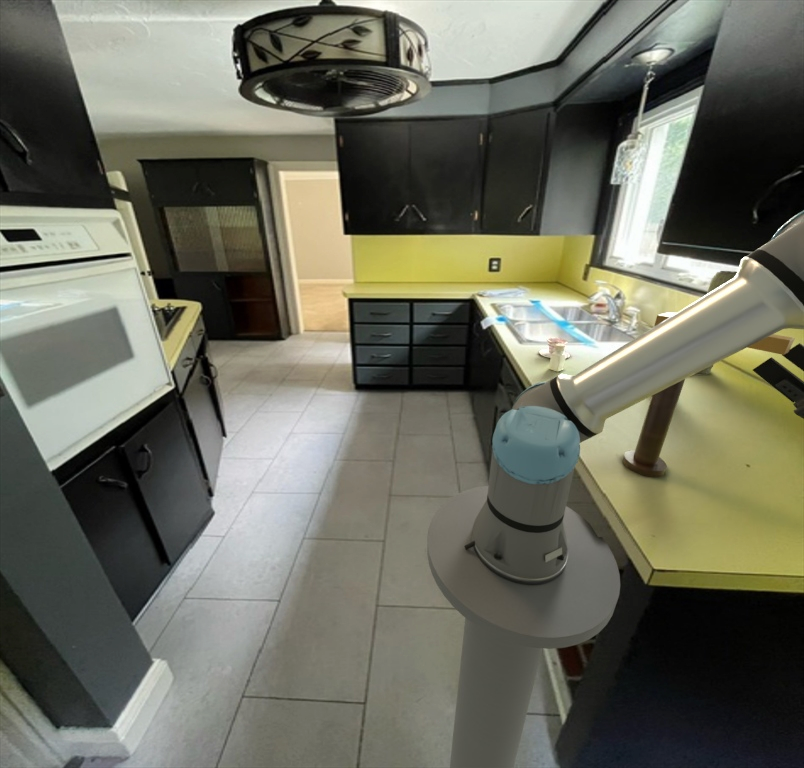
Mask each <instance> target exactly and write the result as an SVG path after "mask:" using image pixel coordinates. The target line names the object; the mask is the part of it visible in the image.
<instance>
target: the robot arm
mask: <svg viewBox="0 0 804 768" xmlns="http://www.w3.org/2000/svg"><path fill="white" fill-rule="evenodd" d="M736 272H737V274H736V276H735V277H734V278H733V279H731V280H730V281H728V282H726V283H725V284H723V285H721V286H720V287H718V288H717V289H715V290H713V291H712V292H710V293H708V294H707V293H706V294H705V295H704V296H702V297H700V298H698V299H697V300H695V301H693V302H692V303H691V304H689V305H687V306H685V307H684V308H683V309H680V310H679V311H678V312H675V313H676V314H674V315H673V316H671V317H669V318H668V319H666V320H664V321H663V322H661V323H660V324H658V325H656V326H655V327H654V326H653V327H651V328H650V329H648V330H647V331H644V332H643V333H642V334H640V335H639V336H637V337H635V338H634V339H632V340H630V341H628V342H627V343H625V344H623V345H622V346H620V347H619V348H617V349H615V350H614V351H612V352H610V353H608V354H607V355H606V356H604V357H603V358H601V359H599V360H598V361H596V362H594V363H593V364H591V365H589V366H587V367H586V368H585V369H583V370H581V371H579V372H578V373H577V374H575V375H570V374H564V373H559V374H558V375H556V376H555V377H553V378H551V379H549V380H548V381H543V382H537V383H535V384H532V385H530V386H529V387H527V388H526V389H524V390H523V391H522V392H521V393H520V394H519V395H518V396H517V397H516V399H515V401H514V402H513V405H512V408H511V409H510V410H507V411H506V412H505V413H503V415H501V417H500V418H499V419H498V421H497V423H496V426H495V429H494V432H493V435H492V444H491V445H492V446H491V448H492V451H491V460H490V468H489V469H490V470H489V477H488V485H487V486H488V495H487V500H486V502H485V503H484V505H483V507H482V508H481V510H480V512H479V514H478V515H477V517H476V519H475V521H474V524H473V528H472V542H471V543H469V544H467V545H465V546H464V547H465V549H466V550H467V549H469V548H471V547H473V548H474V551H475V553H476V555H477V556H478V558H479V559H480V560H481V562H482V563H483V564H484V565H485V566H486V567H487V568H488V569H490V570H491V571H492V572H494V573H495V574H497V575H498V576H500V577H502V578H504V579H506V580H509V581H511V582H515V583H518V584H524V585H541V584H546V583H549V582H551V581H553V580H555V579H556V578H558V577H559V576H560V575H561V574H562V572H563V571H564V569H565V566H566V563H567V558H568V543H567V538H566V533H565V528H564V522H563V517H564V513H565V508H566V506H567V505H568V504H567V503H568V501H569V495H570V492H571V491H570V490H571V486H572V482H573V478H574V473H575V469H576V465H577V463H578V461H579V458H580V455H581V443H583V442H585V441H587V440H589V439H591V438H593V437H595V436H597V435H599V434H601V433H602V432H603V430H604V427H605V422H606V421H607V419H609V418H611V417H613V416H615V415H617V414H619V413H621V412H623V411H625V410H627V409H628V408H630V407H632V406H634V405H637V404H639V403H641V402H642V401H644V400H647V399H648V398H651V397H652V395H654V394H656V393H658V392H660V391H662V390H664V389H666V388H668V387H670V386H672V385H674V384H676V383H678V382H680V381H682V380H684V379H685V380H686V379H688V378H690V377H691V376H693V375H697V374H696V373H698V372H700V371H702V370H703V369H705V368H707V367H709V366H711V365H713V364H714V365H715V364H717V363H719V362H721V361H723V360H725V359H728V358H729V357H732V356H733V355H735V354H737V353H739V352H741V351H743V350H745V349H747V347H749V346H751V345H753V344H755V343H757V342H759V341H761V340H763V339H765V338H767V337H769V336H770V335H772V334H774V335H775V334H777V333H779V332H781V331H782V330H787V329H794V330H804V210H802V211H800V212H798V213H797V214H795V215H794V216H792V217H791V218H790V219H788V220H787V221H786V222H785V223H784V224H783V225H782V226H780V227H779V228H778V229H777V231H776V232H775V233H774V235H773V236H772V237H771V239H770V240H769V241H768V242H765V244H763V245H761V246H760V247H759V248H757V249H755V250H754V251H752V252H751V253H749V254H747V255H746V256H744V257H743V258H741V259H740V262H739V266H738V269H737V271H736ZM781 356H782V357H783V358H785V359H787V361H789V362H790V363H792V364H793V365H794V366H796V368H798V369H800V370H801V371H802V372H804V345H803V344H802V343H801V342H800V343H797V344H796V345H794V346H792V347H791V348H790V350H789V352H788V353H786V354H784V355H782V354H781ZM714 365H713V366H714ZM752 372H754V373H755V374H756V375H758V376H759V377H760V378H761V379H763V380H764V381H765V382H766V383H768V384H769V385H770V386H772V387H773V388H774V389H775V390H776V391H777V392H779V393H780V394H781V395H783V396H784V397H785V398H786V399H788V400H789V401H790V402H791V403H793V406H794V408H795V409H793V413H794V414H795V415H796V416H798V417H800V418H801V419H803V420H804V380H802V378H800V377H798V376H797V375H796V374H794V373H793V372H792V371H791V370H789V369H788V368H786V366H784V365H782V364H781V363H780V362H779V361H778V360H776V359H775V358H773V357H769V358H768V359H766V360H765V361H763V362H762V363H760V364H759V365H757V366H756V367H755V368H753V369H752Z"/></svg>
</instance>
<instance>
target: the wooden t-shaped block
mask: <svg viewBox="0 0 804 768" xmlns="http://www.w3.org/2000/svg"><path fill="white" fill-rule="evenodd" d="M676 313H677V312H673V311H668V312H664V313H660V314H657V315H656V318H655V322H654V325H653V327H655V326H656V325H658V324H660V323H661V322H663V321H664V320H666V319H668V318H669V317H671V316H673V315H674V314H676ZM794 342H795V337H790V336H785V335H779V334H775V333H774V334H772V335H770V336H769V337H767V338H765V339H763V340H761V341H759V342H757V343H755V344H753V345H751V346H749V347H747V348H748V349H753V350H757V351H763V352H767V353H772V354H776V355H781V356H782V355H784V354H786V353H788V352H789V350H790V349H791V348H792V347H793V346H792V345H793V344H794ZM747 348H746V349H747Z"/></svg>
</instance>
